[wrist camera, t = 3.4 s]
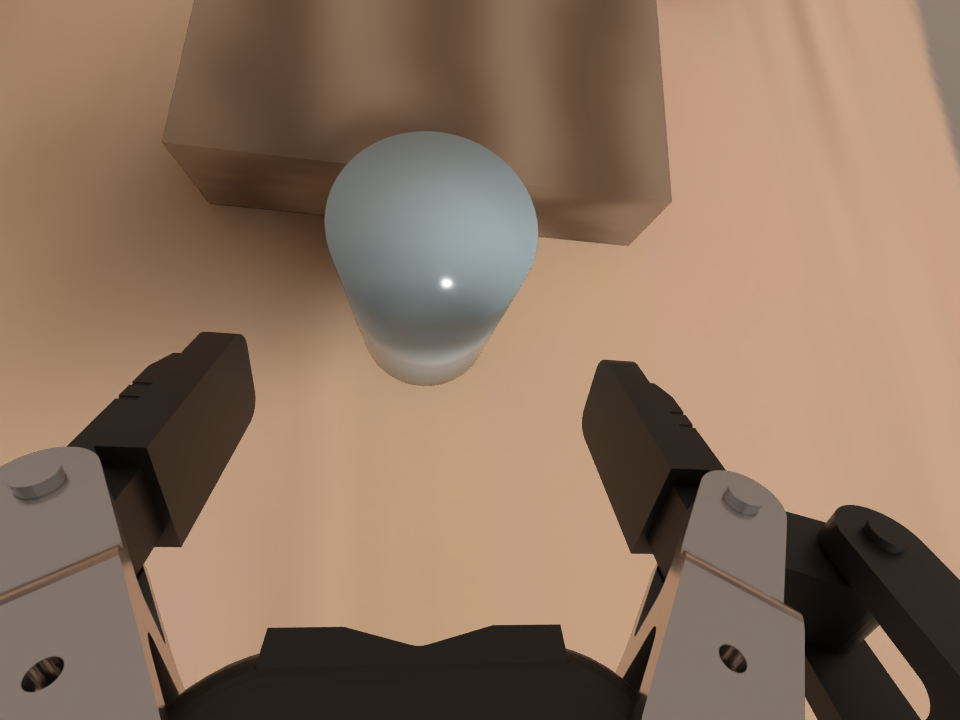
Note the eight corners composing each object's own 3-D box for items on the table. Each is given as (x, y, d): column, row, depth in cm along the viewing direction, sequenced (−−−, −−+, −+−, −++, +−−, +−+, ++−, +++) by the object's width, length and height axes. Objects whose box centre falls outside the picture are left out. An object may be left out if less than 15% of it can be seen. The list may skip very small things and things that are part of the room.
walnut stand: (209, 203, 20) (161, 141, 16) (254, -35, 24) (223, -133, 20) (628, 245, 23) (671, 201, 19) (617, 26, 26) (652, -50, 22)
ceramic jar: (357, 382, 20) (312, 315, 11) (368, 263, 21) (336, 118, 12) (484, 389, 20) (538, 332, 12) (487, 273, 22) (538, 144, 13)
